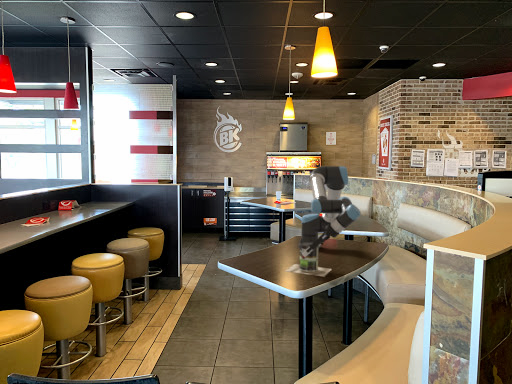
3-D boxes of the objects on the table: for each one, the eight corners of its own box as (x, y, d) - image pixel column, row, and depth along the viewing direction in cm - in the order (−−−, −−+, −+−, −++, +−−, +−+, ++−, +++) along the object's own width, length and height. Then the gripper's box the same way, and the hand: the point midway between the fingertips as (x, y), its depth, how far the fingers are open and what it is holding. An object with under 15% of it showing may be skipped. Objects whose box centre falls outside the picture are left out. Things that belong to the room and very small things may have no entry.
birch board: (284, 272, 213) (284, 270, 213) (294, 265, 227) (294, 264, 227) (324, 278, 204) (324, 276, 204) (331, 270, 218) (331, 268, 218)
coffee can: (310, 273, 208) (311, 247, 207) (295, 269, 215) (295, 244, 214) (321, 269, 215) (322, 244, 214) (306, 265, 222) (307, 241, 221)
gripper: (333, 237, 195) (304, 263, 203) (345, 229, 217) (318, 253, 225) (323, 226, 197) (294, 252, 204) (336, 219, 219) (309, 242, 227)
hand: (307, 252), depth 215 cm, fingers open, 13 cm apart
